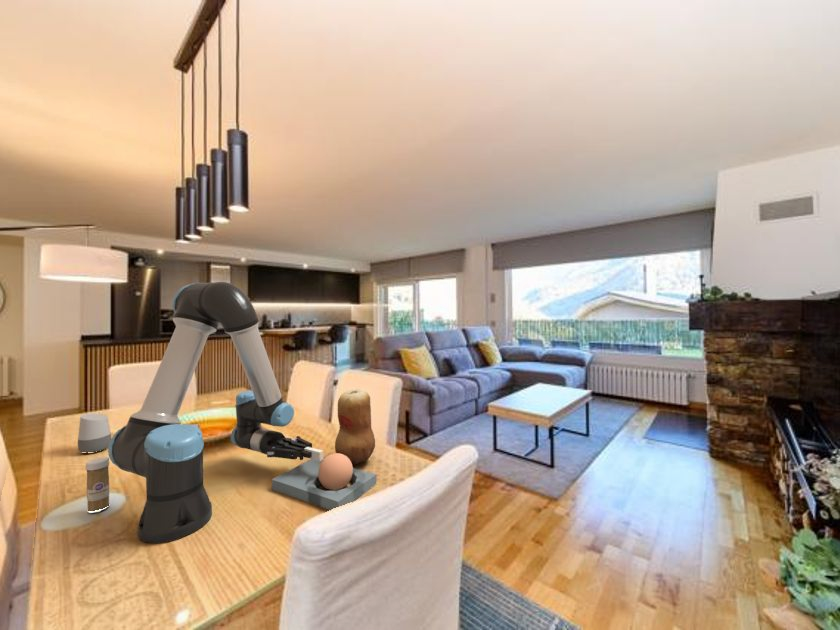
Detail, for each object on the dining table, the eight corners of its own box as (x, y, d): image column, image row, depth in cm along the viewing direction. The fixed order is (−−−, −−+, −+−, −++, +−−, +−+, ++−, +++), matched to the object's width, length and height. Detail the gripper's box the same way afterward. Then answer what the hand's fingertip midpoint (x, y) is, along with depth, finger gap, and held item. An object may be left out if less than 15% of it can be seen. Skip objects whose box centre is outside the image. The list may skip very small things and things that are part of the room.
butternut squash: (326, 465, 118) (325, 392, 118) (352, 451, 130) (351, 384, 130) (359, 474, 112) (359, 397, 111) (383, 458, 124) (382, 388, 123)
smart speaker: (106, 453, 130) (105, 415, 130) (73, 457, 126) (72, 419, 126) (115, 444, 139) (114, 409, 138) (84, 448, 135) (83, 412, 134)
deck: (272, 489, 103) (271, 479, 103) (314, 466, 118) (314, 457, 118) (338, 513, 91) (338, 501, 91) (376, 484, 106) (376, 474, 106)
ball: (306, 480, 103) (332, 501, 103) (318, 469, 97) (346, 492, 97) (326, 452, 111) (350, 472, 111) (338, 441, 104) (364, 462, 105)
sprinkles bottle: (91, 516, 90) (89, 464, 90) (83, 511, 92) (82, 461, 92) (113, 507, 94) (112, 458, 94) (105, 503, 96) (104, 454, 96)
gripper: (284, 446, 122) (336, 460, 111) (251, 460, 111) (305, 477, 99) (284, 425, 122) (336, 436, 111) (250, 437, 110) (305, 451, 99)
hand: (321, 456), depth 105 cm, fingers closed
